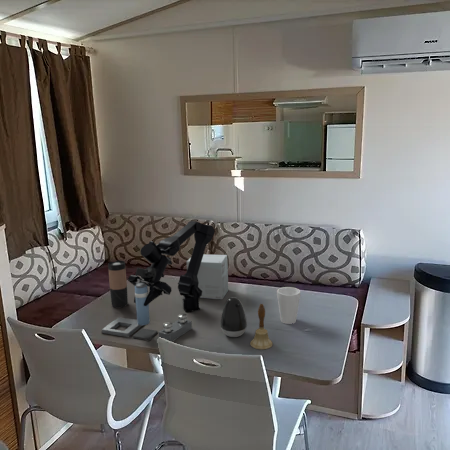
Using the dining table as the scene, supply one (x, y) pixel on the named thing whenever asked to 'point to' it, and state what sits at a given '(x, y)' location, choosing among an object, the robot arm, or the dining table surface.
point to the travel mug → (118, 283)
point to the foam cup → (288, 304)
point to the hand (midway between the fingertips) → (139, 304)
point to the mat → (145, 334)
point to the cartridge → (142, 304)
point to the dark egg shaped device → (233, 318)
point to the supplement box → (213, 276)
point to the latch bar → (176, 330)
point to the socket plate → (120, 321)
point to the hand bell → (261, 333)
